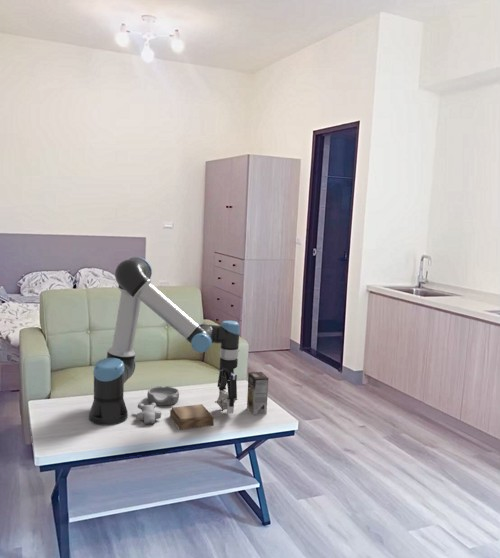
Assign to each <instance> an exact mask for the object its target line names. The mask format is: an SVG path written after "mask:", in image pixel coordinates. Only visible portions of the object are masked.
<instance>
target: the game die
mask: <svg viewBox="0 0 500 558" xmlns="http://www.w3.org/2000/svg"><path fill="white" fill-rule="evenodd" d="M227 398H229V396H228V391H226V392H223V393H221V392H220V395H219V394H218V398H217V400H216V401H214V403H217V405H218V406H219V408H221V412H223V411H225V410H227V401H228V399H227ZM237 400H238V398H237V399H234V403H236V401H237Z"/></svg>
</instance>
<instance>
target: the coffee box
mask: <svg viewBox="0 0 500 558" xmlns="http://www.w3.org/2000/svg"><path fill="white" fill-rule="evenodd" d="M247 375H248V377H247V378H248V380H247V397H246V399H247V400H246V408H247V409H248V411H249V412H250V413H251V414H252V416H260V415H267V411H268V394H269V393H268V392H269V377H267V375H265V374H264V372H262V371H260V372H259V371H252V372H248V373H247Z"/></svg>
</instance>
